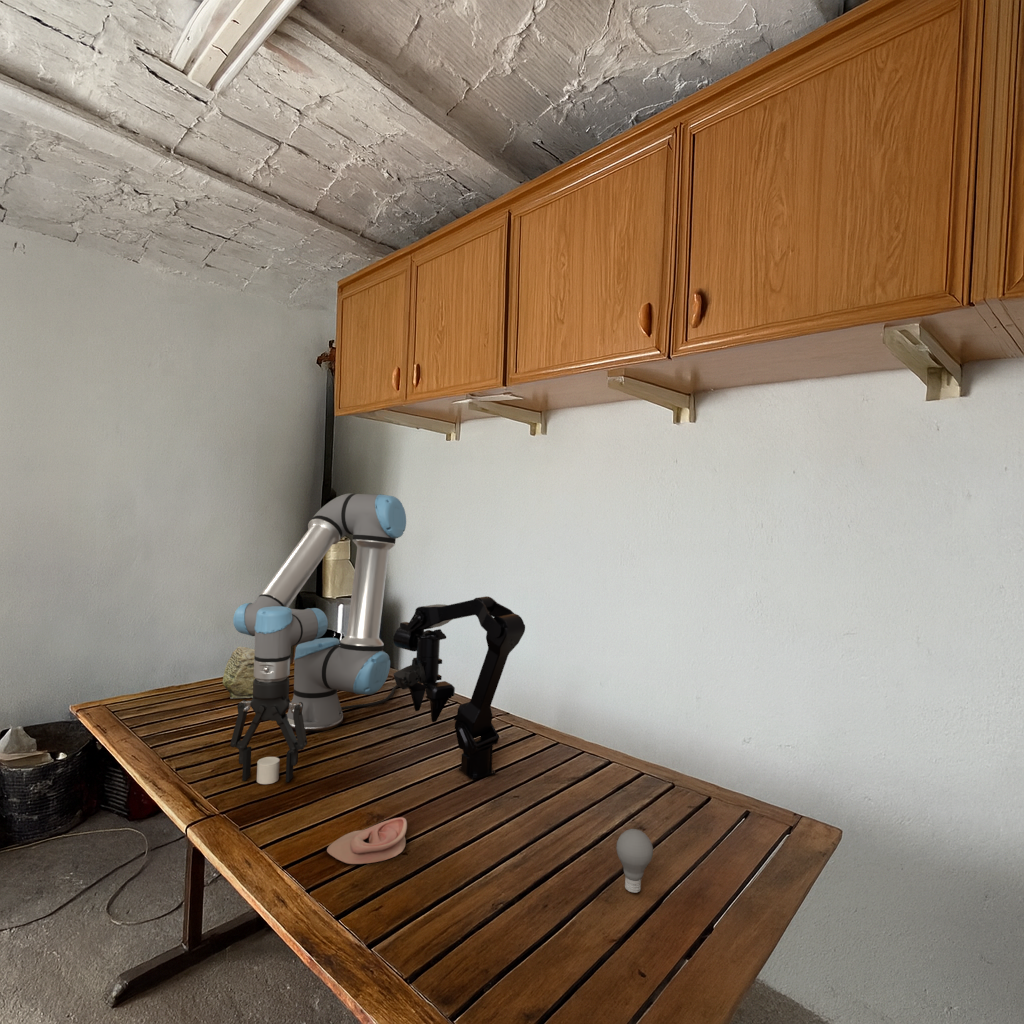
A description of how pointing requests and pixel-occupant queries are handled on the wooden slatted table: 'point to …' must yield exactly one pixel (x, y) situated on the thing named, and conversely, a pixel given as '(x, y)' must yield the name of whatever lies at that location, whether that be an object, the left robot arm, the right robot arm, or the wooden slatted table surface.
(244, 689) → the fossil
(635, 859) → the light bulb
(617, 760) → the wooden slatted table surface
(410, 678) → the right robot arm
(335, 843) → the anatomical model
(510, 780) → the wooden slatted table surface
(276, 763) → the can
